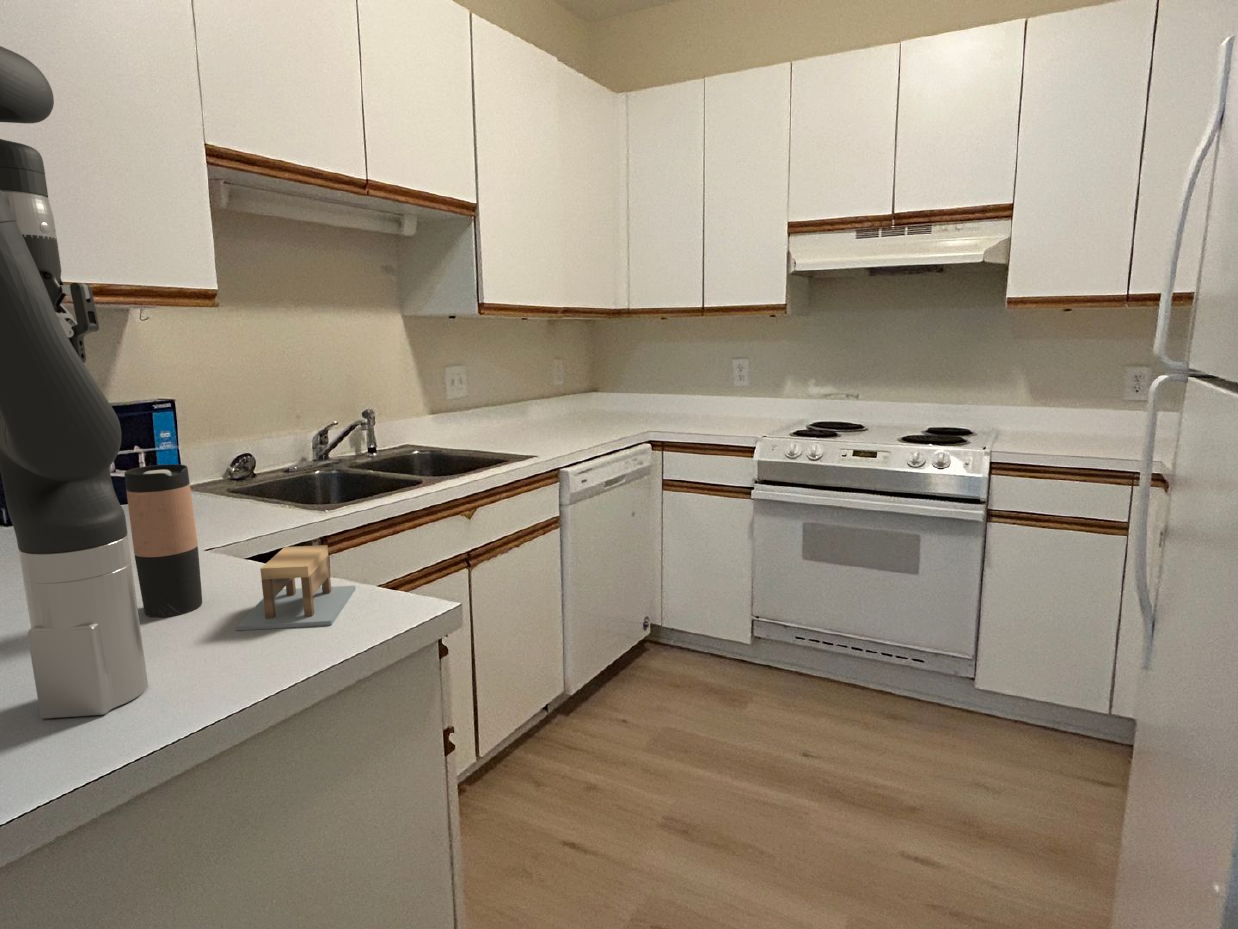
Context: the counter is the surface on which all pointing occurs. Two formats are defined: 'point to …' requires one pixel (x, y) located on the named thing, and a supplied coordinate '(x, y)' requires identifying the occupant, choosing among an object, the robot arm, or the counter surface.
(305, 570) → the stool
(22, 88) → the robot arm
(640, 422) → the counter surface
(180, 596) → the travel mug
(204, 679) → the counter surface
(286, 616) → the mat
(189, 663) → the counter surface
